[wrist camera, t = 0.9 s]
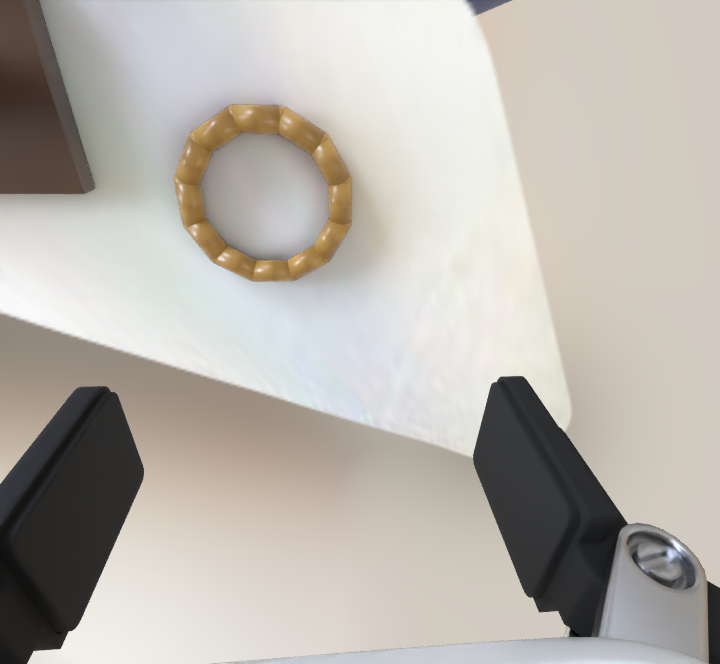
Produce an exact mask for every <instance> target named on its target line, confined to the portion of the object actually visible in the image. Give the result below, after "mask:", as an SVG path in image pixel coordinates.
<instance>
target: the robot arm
mask: <svg viewBox="0 0 720 664" xmlns="http://www.w3.org/2000/svg"><path fill="white" fill-rule="evenodd" d="M473 460H474V465H475V469H476V471H477V474H478V477H479V479H480V481H481V484H482V487H483V489H484V492H485V494H486V497H487V499H488V502H489V504H490V507H491V509H492V512H493V514H494V517H495V519H496V522H497V524H498V527H499V530H500V532H501V534H502V537H503V540H504V542H505V545H506V547H507V550H508V552H509V555H510V557H511V560H512V562H513V565H514V567H515V570H516V572H517V575H518V578H519V580H520V583H521V585H522V588H523V590H524V592H525V593H526V595H527V596H528V597H533V598H534V601H535V603H536V606H537V608H538V611H539V612H550V611H559V614H560V616H561V618H562V620H563V622H564V624H565V625H566V629H565V634H564V637H560V638H544V639H526V640H507V641H491V642H477V643H465V644H451V645H438V646H425V647H412V648H400V649H385V650H372V651H360V652H349V653H336V654H323V655H311V656H300V657H286V658H274V659H262V660H250V661H237V662H226V663H214V664H720V588H719V587H717V586H715V585H714V584H712V583H710V582H708V581H707V579H706V574H705V570H704V569H703V567H702V565H701V563H700V561H699V560H698V558H697V557H696V556H695V555H694V553H693V552H692V551H691V550H690V549H689V548H688V547H687V546H686V545H685V544H684V543H682V542H681V541H680V540H679V539H677V538H676V537H675V536H673V535H671V534H669V533H668V532H666V531H664V530H663V529H660V528H657V527H655V526H652V525H648V524H642V523H635V524H627V522H626V521H625V519H624V518H623V516H622V515H621V513H620V512H619V510H618V509H617V507H616V506H615V505H614V503H613V502H612V500H611V499H610V497H609V496H608V495H607V493H606V492H605V490H604V489H603V487H602V486H601V484H600V483H599V481H598V480H597V478H596V477H595V476H594V474H593V473H592V471H591V470H590V468H589V467H588V465H587V464H586V462H585V461H584V460H583V458H582V457H581V455H580V454H579V452H578V451H577V449H576V448H575V447H574V445H573V444H572V442H571V441H570V439H569V438H568V436H567V435H566V433H565V432H564V431H563V430H562V429H561V428H559V427H558V425H557V424H556V422H555V421H554V419H553V418H552V416H551V415H550V414H549V412H548V411H547V409H546V408H545V406H544V405H543V403H542V402H541V400H540V399H539V397H538V396H537V394H536V393H535V392H534V390H533V389H532V387H531V386H530V384H529V383H528V381H527V380H526V379H525V378H524V377H522V376H510V377H500V378H499V379H498V381H497V382H494V383H492V385H491V387H490V391H489V395H488V399H487V403H486V407H485V411H484V415H483V419H482V422H481V426H480V430H479V434H478V438H477V442H476V446H475V450H474V454H473ZM143 476H144V468H143V464H142V462H141V459H140V456H139V453H138V451H137V448H136V445H135V442H134V440H133V437H132V434H131V431H130V428H129V426H128V423H127V420H126V418H125V414H124V412H123V409H122V406H121V403H120V401H119V398H118V395H117V394H116V393H115V392H111V391H110V390H109V388H107V387H105V386H97V387H79V388H77V389H76V390H75V391H74V392H73V393H72V394H71V396H70V397H69V398H68V399H67V401H66V402H65V403H64V404H63V406H62V407H61V408H60V409H59V411H58V412H57V413H56V415H55V416H54V417H53V418H52V420H51V421H50V422H49V423H48V424H47V426H46V427H45V428H44V430H43V431H42V432H41V433H40V435H39V436H38V437H37V438H36V440H35V441H34V442H33V443H32V445H31V446H30V447H29V449H28V450H27V451H26V452H25V454H24V455H23V456H22V457H21V459H20V460H19V461H18V462H17V464H16V465H15V466H14V467H13V469H12V470H11V471H10V472H9V474H8V475H7V476H6V478H5V479H4V480H3V481H2V483H1V484H0V664H27V663H28V661H29V659H30V657H31V655H32V653H33V651H38V650H52V649H61V647H62V645H63V642H64V640H65V638H66V636H67V634H68V631H72V630H74V629H75V628H76V627H77V625H78V624H79V622H80V620H81V618H82V616H83V614H84V612H85V609H86V607H87V605H88V603H89V600H90V598H91V596H92V593H93V591H94V589H95V587H96V584H97V582H98V580H99V578H100V576H101V573H102V571H103V569H104V566H105V564H106V562H107V560H108V557H109V555H110V553H111V551H112V548H113V546H114V544H115V542H116V539H117V537H118V535H119V533H120V530H121V528H122V526H123V524H124V521H125V519H126V517H127V515H128V512H129V510H130V508H131V506H132V503H133V501H134V499H135V497H136V494H137V492H138V490H139V488H140V485H141V483H142V480H143Z"/></svg>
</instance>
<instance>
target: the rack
mask: <svg viewBox="0 0 720 664" xmlns="http://www.w3.org/2000/svg"><path fill="white" fill-rule="evenodd" d="M93 189H95V185H94V182H93V179H92V176H91V172H90V169H89V166H88V162H87V159H86V156H85V152H84V149H83V146H82V142H81V139H80V136H79V133H78V129H77V126H76V123H75V119H74V116H73V113H72V109H71V106H70V103H69V99H68V96H67V93H66V90H65V86H64V83H63V80H62V76H61V73H60V70H59V66H58V63H57V60H56V56H55V53H54V50H53V47H52V43H51V40H50V37H49V33H48V30H47V27H46V23H45V20H44V17H43V13H42V10H41V7H40V4H39V0H0V194H85V193H87V192H89V191H91V190H93Z"/></svg>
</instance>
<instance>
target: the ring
mask: <svg viewBox="0 0 720 664" xmlns="http://www.w3.org/2000/svg"><path fill="white" fill-rule="evenodd" d="M242 133H249V134H279V135H281V136H282V137H284V138H286V139H287V140H289V141H291V142H292V143H294V144H295V145H297V146H299V147H300V148H302V149H304V150H305V151H307V152H308V153H310V154H311V156H312V157H313V159H314V161H315V163H316V164H317V166H318V168H319V170H320V171H321V173H322V175H323V177H324V178H325V180H326V182H327V184H328V188H329V219H328V221H327V223H326V225H325V226H324V228H323V230H322V232H321V233H320V235H319V237H318V239H317V241H316V242H315V244H314V245H313V246H311V247H309V248H308V249H306V250H304V251H302V252H301V253H299V254H297V255H295V256H294V257H292V258H290V259H289V260H256V259H254V258H252V257H250V256H248V255H246V254H244V253H242V252H240V251H238V250H236V249H234V248H232V247H230V246H228V245H227V244H226V243H225V242H224V241H223V239H222V238H221V237H220V235H219V234H218V233H217V231H216V230H215V229H214V227H213V226H212V225H211V224H210V222H209V221H208V220H207V218H206V214H205V208H204V202H203V197H202V191H201V185H200V183H201V181H202V178H203V176H204V173H205V171H206V168H207V166H208V163H209V161H210V158H211V156H212V153H213V152H214V151H216V150H217V149H219V148H220V147H222V146H223V145H225V144H226V143H228V142H229V141H231V140H232V139H234V138H236V137H237V136H239V135H240V134H242ZM174 185H175V190H176V195H177V199H178V204H179V209H180V214H181V219H182V224H183V226H184V228H185V229H186V230H187V232H188V233H189V234H190V235H191V237H192V238H193V239H194V240H195V242H196V243H197V244H198V245H199V247H200V248H201V249H202V250H203V251H204V253H205V254H206V255H207V256H208V258H209V259H210V260H211V261H212V262H213V263H215V264H217V265H219V266H221V267H223V268H225V269H227V270H229V271H231V272H233V273H235V274H238V275H240V276H242V277H244V278H246V279H248V280H250V281H254V282H264V281H295V280H297V279H299V278H301V277H302V276H304V275H306V274H308V273H310V272H311V271H313V270H315V269H317V268H319V267H320V266H322V265H324V264H326V263H327V262H329V261H330V260H331V258H332V257H333V255H334V253H335V252H336V250H337V248H338V247H339V245H340V243H341V242H342V240H343V238H344V236H345V235H346V233H347V231H348V230H349V228H350V226H351V213H352V179H351V176H350V174H349V172H348V171H347V169H346V167H345V165H344V163H343V161H342V159H341V157H340V156H339V154H338V152H337V150H336V148H335V146H334V144H333V143H332V141H331V139H330V137H329V135H328V134H327V133H325V132H324V131H322V130H321V129H319V128H318V127H316V126H315V125H313V124H312V123H310V122H308V121H307V120H305V119H304V118H302V117H301V116H299V115H298V114H296V113H294V112H293V111H291V110H290V109H288V108H287V107H285V106H282V105H242V104H233V105H230V106H228V107H227V108H225V109H224V110H222V111H221V112H219V113H218V114H216V115H215V116H213V117H212V118H210V119H209V120H207V121H206V122H204V123H203V124H202V125H200V126H199V127H197V128H196V129H194V130H193V131H192V132H191V133H190V134H189V136H188V139H187V142H186V145H185V147H184V150H183V153H182V156H181V158H180V161H179V164H178V167H177V169H176V172H175V175H174Z"/></svg>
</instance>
